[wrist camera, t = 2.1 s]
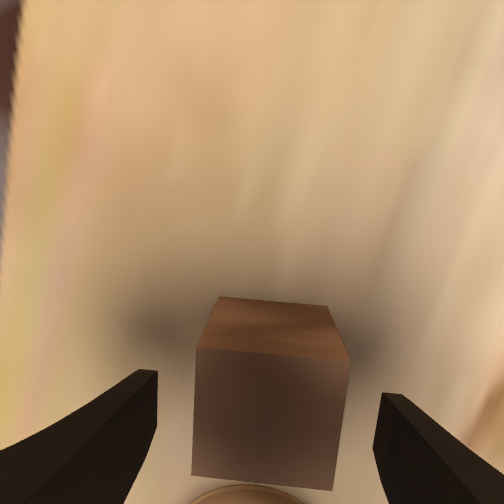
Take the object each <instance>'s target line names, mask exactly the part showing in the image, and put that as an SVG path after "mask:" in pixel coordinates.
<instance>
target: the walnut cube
mask: <svg viewBox="0 0 504 504" xmlns="http://www.w3.org/2000/svg"><path fill="white" fill-rule="evenodd" d="M350 365H351V360H350V358H349V356H348V354H347V351H346V349H345V347H344V344H343V342H342V340H341V337H340V335H339V333H338V331H337V328H336V326H335V324H334V321H333V319H332V317H331V314H330V312H329V310H328V308H327V306H319V305H308V304H296V303H285V302H273V301H262V300H250V299H239V298H228V297H219V299H218V301H217V303H216V305H215V308H214V310H213V312H212V314H211V316H210V319H209V321H208V323H207V325H206V327H205V329H204V332H203V334H202V336H201V338H200V340H199V343H198V345H197V347H196V372H195V397H194V422H193V447H192V472H191V475H192V476H201V477H210V478H219V479H228V480H237V481H246V482H255V483H264V484H273V485H282V486H291V487H300V488H309V489H318V490H327V491H332V489H333V482H334V475H335V468H336V462H337V455H338V448H339V441H340V434H341V427H342V420H343V413H344V406H345V399H346V393H347V386H348V379H349V372H350Z"/></svg>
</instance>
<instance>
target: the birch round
mask: <svg viewBox="0 0 504 504" xmlns="http://www.w3.org/2000/svg"><path fill="white" fill-rule="evenodd" d="M191 504H303V503H302V502H301V501H299V500H298V499H296V498H294V497H292V496H291V495H289V494H286V493H284V492H281V491H279V490H276V489H272V488H269V487H263V486H258V485H234V486H228V487H223V488H219V489H216V490H213V491H211V492H209V493H206V494H204V495H203V496H201V497H199V498H197V499H196V500H195V501H194V502H192V503H191Z"/></svg>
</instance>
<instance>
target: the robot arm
mask: <svg viewBox="0 0 504 504" xmlns="http://www.w3.org/2000/svg"><path fill="white" fill-rule="evenodd" d="M157 390H158V371H154V370H144V369H139V370H137V371H135V372H134V373H132V374H131V375H129V376H128V377H126V378H125V379H123V380H122V381H121V382H119V383H118V384H116V385H115V386H113V387H112V388H110V389H109V390H107V391H106V392H104V393H103V394H101V395H100V396H98V397H97V398H95V399H94V400H92V401H91V402H89V403H88V404H86V405H84V406H83V407H81V408H79V409H78V410H76V411H74V412H73V413H71V414H70V415H68V416H66V417H65V418H63V419H61V420H60V421H58V422H56V423H54V424H53V425H51V426H49V427H47V428H45V429H44V430H42V431H40V432H38V433H36V434H34V435H32V436H30V437H28V438H26V439H24V440H22V441H20V442H18V443H16V444H14V445H12V446H9V447H7V448H5V449H3V450H0V504H124V501H125V499H126V497H127V495H128V493H129V491H130V489H131V487H132V485H133V483H134V481H135V479H136V477H137V475H138V473H139V471H140V469H141V467H142V465H143V462H144V460H145V458H146V456H147V453H148V450H149V448H150V445H151V442H152V439H153V436H154V433H155V430H156V427H157ZM373 452H374V456H375V460H376V464H377V468H378V472H379V476H380V480H381V483H382V486H383V489H384V491H385V494H386V497H387V499H388V502H389V504H504V474H502V473H501V472H499V471H498V470H497V469H495V468H494V467H493V466H491V465H490V464H489V463H487V462H486V461H485V460H483V459H482V458H480V457H479V456H478V455H476V454H475V453H474V452H473V451H471V450H470V449H469V448H467V447H466V446H465V445H464V444H462V443H461V442H460V441H459V440H457V439H456V438H455V437H454V436H452V435H451V434H450V433H449V432H448V431H446V430H445V429H444V428H443V427H441V426H440V425H439V424H438V423H437V422H435V421H434V420H433V419H432V418H431V417H429V416H428V415H427V414H426V413H425V412H423V411H422V410H421V409H420V408H419V407H417V406H416V405H415V404H414V403H413V402H411V401H410V400H409V399H407V398H406V397H405V396H403V395H402V394H393V393H383V392H382V396H381V402H380V408H379V413H378V419H377V425H376V431H375V437H374V442H373Z"/></svg>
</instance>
